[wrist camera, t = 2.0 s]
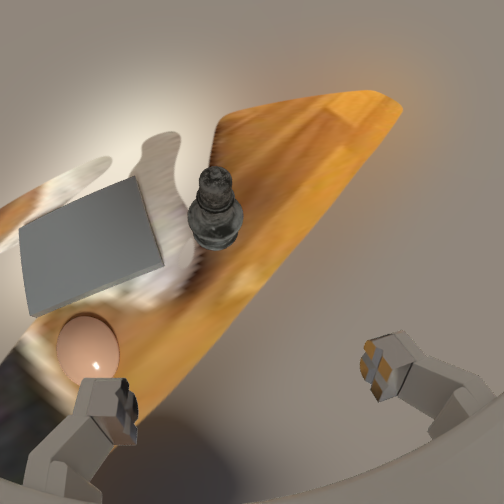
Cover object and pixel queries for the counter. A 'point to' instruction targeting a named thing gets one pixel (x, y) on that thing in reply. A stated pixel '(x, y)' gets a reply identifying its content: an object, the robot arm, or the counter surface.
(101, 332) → the peach domed round part
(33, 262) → the slate board
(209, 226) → the black rounded upright piece
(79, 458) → the robot arm
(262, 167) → the counter surface
